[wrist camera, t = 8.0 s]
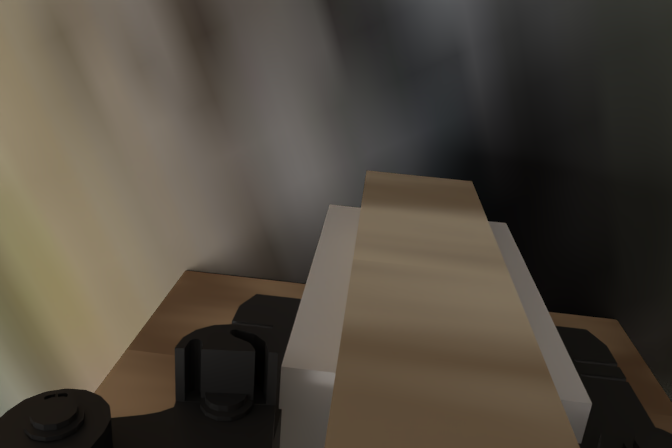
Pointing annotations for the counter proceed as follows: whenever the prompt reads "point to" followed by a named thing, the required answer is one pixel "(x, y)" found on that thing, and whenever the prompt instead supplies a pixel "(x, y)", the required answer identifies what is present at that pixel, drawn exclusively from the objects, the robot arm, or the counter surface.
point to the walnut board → (231, 291)
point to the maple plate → (437, 331)
